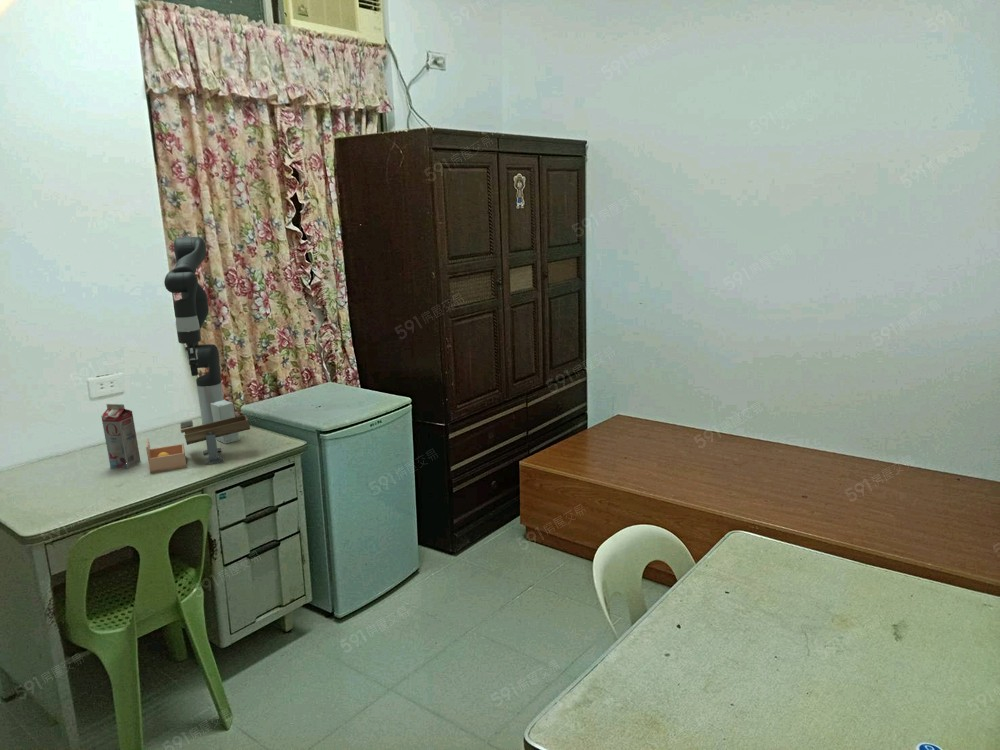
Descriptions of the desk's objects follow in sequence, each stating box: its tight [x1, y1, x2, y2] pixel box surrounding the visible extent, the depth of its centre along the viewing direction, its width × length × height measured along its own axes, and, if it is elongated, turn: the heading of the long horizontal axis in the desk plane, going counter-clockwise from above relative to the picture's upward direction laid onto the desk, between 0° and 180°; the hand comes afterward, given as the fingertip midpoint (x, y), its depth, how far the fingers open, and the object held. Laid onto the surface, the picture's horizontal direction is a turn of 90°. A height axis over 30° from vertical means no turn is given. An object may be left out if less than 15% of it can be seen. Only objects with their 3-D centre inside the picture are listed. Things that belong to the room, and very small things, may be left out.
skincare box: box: [210, 399, 240, 444], centre depth 264 cm, size 8×6×15 cm
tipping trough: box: [179, 414, 251, 446], centre depth 250 cm, size 18×22×4 cm
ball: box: [157, 452, 169, 457], centre depth 241 cm, size 4×4×4 cm
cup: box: [145, 438, 187, 474], centre depth 241 cm, size 11×11×9 cm
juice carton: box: [101, 403, 142, 470], centre depth 241 cm, size 7×7×22 cm
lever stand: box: [202, 433, 225, 466], centre depth 246 cm, size 14×6×10 cm, turn 25°
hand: (194, 373), depth 253 cm, fingers open, 8 cm apart
